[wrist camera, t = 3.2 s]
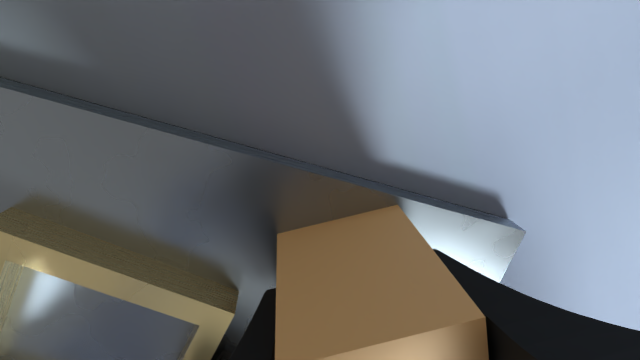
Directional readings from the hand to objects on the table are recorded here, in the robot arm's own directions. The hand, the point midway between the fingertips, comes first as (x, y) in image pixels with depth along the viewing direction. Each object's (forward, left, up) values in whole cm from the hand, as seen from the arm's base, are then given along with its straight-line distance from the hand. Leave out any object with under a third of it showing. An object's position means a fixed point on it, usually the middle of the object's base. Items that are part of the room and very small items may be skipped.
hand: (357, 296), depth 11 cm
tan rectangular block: (0, 0, -1) cm, 1 cm away
